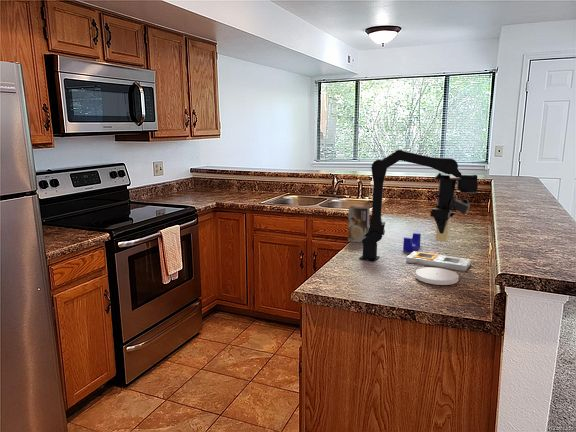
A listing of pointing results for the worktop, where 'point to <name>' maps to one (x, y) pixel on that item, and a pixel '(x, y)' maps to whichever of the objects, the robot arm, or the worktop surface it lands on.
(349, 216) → the coffee box
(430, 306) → the worktop surface
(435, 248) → the worktop surface
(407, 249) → the blue curved block
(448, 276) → the plastic lid
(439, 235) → the beige rectangular block
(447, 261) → the grey plate with holes
